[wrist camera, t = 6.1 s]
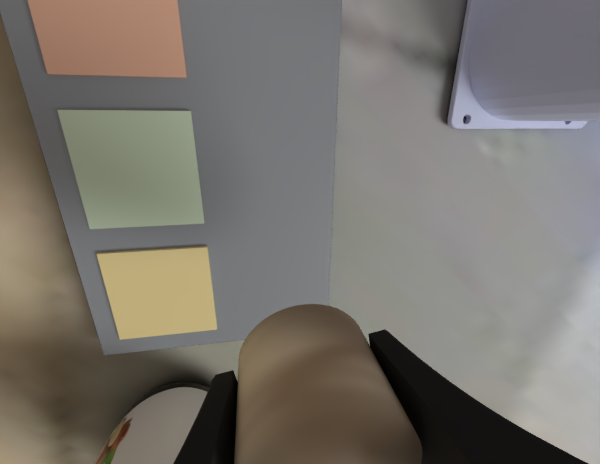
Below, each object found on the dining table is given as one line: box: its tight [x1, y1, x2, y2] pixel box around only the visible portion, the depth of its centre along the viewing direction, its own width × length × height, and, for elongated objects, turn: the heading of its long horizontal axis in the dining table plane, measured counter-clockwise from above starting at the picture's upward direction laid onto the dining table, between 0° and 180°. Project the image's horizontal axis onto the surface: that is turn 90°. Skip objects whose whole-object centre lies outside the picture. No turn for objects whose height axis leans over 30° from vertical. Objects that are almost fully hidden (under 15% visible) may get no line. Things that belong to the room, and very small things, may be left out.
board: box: [0, 0, 342, 356], centre depth 15 cm, size 14×22×1 cm, turn 0°
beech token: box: [234, 304, 422, 464], centre depth 9 cm, size 5×5×4 cm
